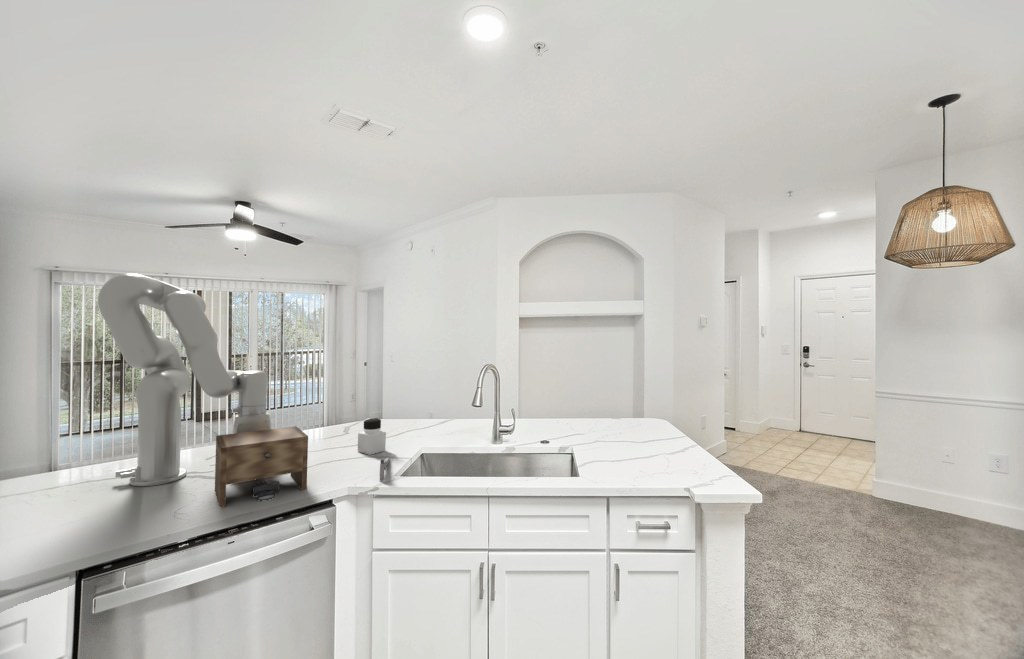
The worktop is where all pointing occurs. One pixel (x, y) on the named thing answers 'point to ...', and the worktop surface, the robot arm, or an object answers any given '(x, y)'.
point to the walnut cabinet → (260, 457)
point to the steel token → (265, 495)
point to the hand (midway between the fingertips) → (251, 468)
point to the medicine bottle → (371, 437)
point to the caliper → (383, 467)
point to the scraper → (265, 486)
